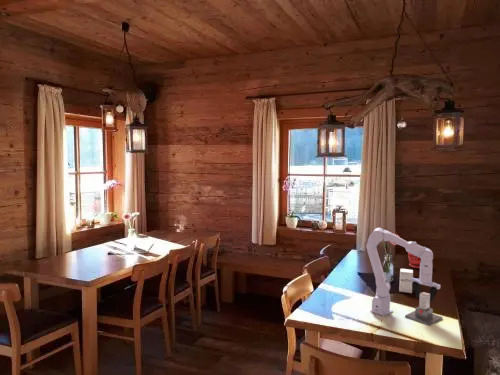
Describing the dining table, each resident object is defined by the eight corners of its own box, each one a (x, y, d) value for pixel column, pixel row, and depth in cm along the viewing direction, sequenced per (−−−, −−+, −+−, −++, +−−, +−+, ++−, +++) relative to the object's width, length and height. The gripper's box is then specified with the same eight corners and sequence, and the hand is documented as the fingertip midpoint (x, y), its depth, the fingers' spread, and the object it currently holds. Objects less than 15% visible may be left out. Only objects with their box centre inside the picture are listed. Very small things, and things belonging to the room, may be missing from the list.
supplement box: (399, 291, 249) (399, 271, 248) (399, 288, 256) (400, 268, 255) (412, 293, 246) (413, 272, 245) (412, 289, 253) (413, 269, 252)
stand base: (429, 325, 201) (430, 315, 200) (405, 317, 211) (405, 307, 210) (442, 318, 209) (443, 309, 209) (418, 311, 219) (418, 301, 219)
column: (425, 312, 207) (426, 295, 206) (418, 310, 210) (419, 293, 209) (429, 310, 209) (430, 293, 209) (422, 308, 212) (423, 291, 211)
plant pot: (429, 267, 303) (430, 251, 302) (421, 270, 294) (421, 253, 293) (413, 263, 313) (413, 247, 312) (404, 266, 304) (404, 250, 303)
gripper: (408, 271, 211) (407, 296, 212) (436, 278, 200) (434, 305, 201) (415, 268, 215) (414, 293, 217) (443, 275, 204) (441, 301, 205)
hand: (424, 299), depth 209 cm, fingers open, 7 cm apart
